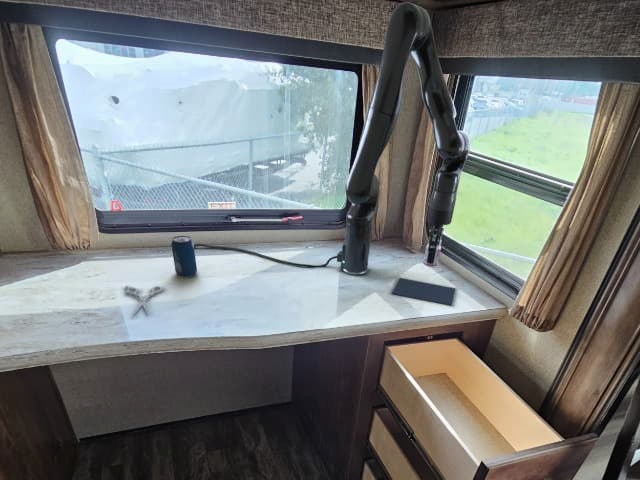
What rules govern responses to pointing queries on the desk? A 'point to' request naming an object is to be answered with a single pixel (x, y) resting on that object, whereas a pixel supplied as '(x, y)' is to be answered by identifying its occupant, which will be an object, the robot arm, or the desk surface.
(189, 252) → the soda can
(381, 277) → the desk surface
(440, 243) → the pill bottle
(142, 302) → the scissors
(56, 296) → the desk surface
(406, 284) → the mat
